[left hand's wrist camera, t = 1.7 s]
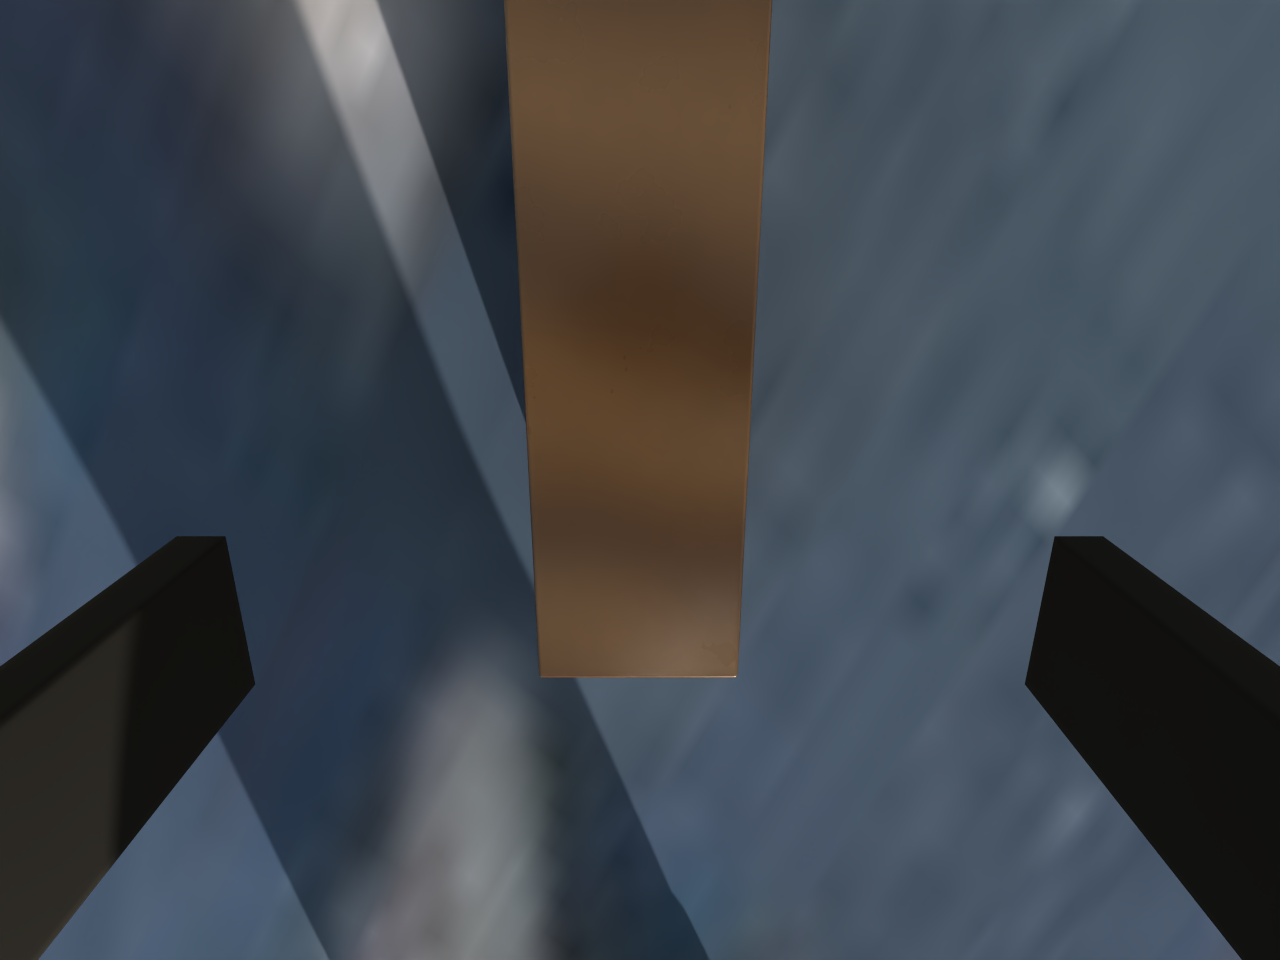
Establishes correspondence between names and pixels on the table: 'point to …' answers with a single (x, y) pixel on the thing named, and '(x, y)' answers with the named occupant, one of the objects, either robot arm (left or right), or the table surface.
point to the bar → (638, 321)
